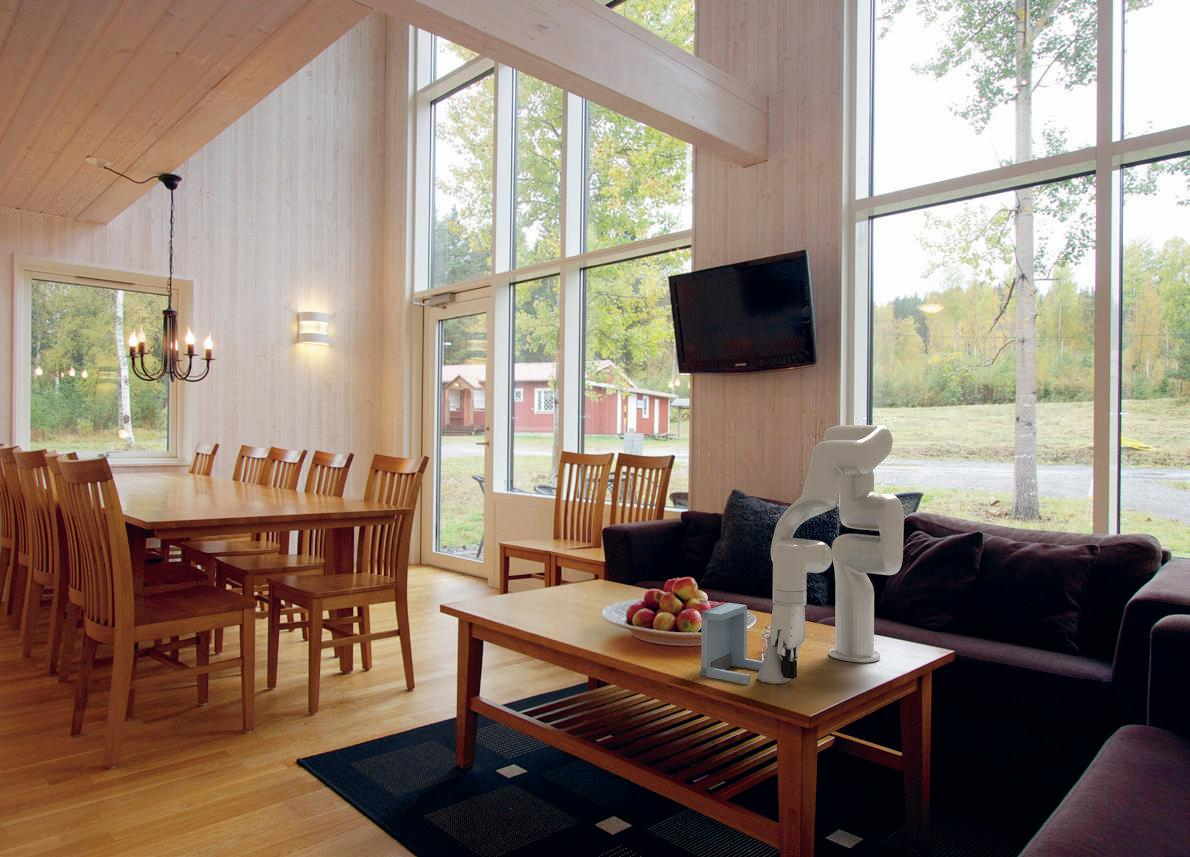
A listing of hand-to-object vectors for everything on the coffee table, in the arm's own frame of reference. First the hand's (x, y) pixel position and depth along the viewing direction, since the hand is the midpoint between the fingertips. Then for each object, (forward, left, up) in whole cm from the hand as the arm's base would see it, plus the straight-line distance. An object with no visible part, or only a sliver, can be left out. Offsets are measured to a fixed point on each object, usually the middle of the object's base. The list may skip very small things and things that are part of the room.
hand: (788, 677), depth 186 cm
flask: (0, -4, -2) cm, 4 cm away
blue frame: (0, -13, -1) cm, 13 cm away
